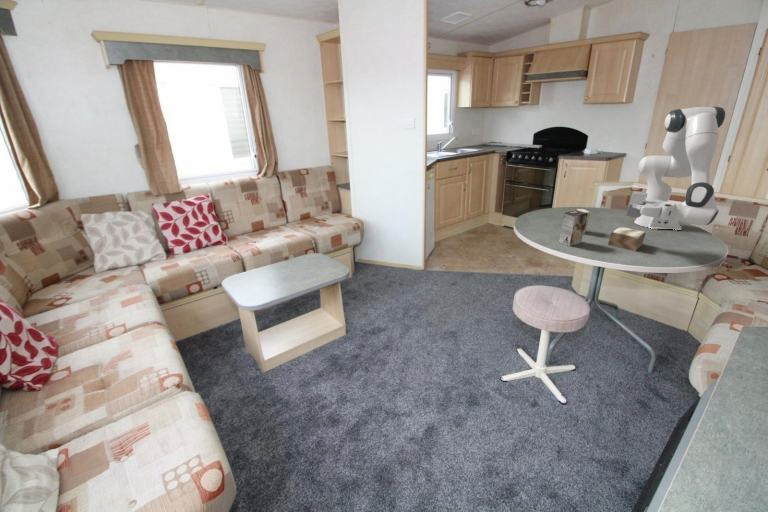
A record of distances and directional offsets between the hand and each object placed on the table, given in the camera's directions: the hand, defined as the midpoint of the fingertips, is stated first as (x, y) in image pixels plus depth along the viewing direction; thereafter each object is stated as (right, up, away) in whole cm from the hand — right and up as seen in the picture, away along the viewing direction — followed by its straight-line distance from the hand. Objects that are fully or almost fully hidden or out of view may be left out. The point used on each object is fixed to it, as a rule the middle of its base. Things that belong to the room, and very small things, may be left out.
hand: (634, 204), depth 174 cm
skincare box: (-14, -12, +26) cm, 31 cm away
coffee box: (-26, -19, +10) cm, 34 cm away
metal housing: (+1, -5, +2) cm, 6 cm away
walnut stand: (+1, -19, +8) cm, 21 cm away
